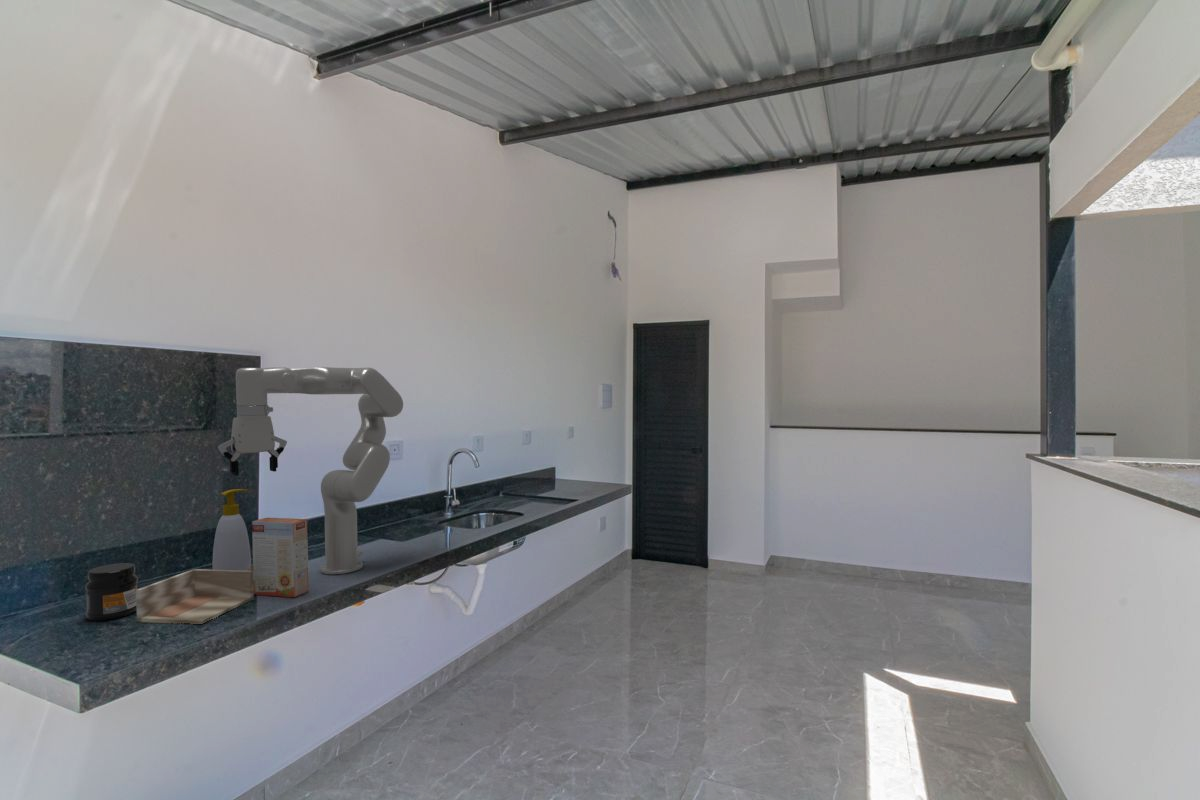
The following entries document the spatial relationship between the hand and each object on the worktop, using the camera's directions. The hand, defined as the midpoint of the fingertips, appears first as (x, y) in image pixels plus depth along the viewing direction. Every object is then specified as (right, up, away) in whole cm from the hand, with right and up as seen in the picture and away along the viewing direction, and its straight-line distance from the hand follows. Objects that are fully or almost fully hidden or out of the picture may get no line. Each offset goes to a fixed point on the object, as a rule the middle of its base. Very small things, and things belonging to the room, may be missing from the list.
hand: (254, 473), depth 173 cm
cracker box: (+7, -34, +1) cm, 35 cm away
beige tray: (-8, -34, -12) cm, 37 cm away
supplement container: (-29, -35, -14) cm, 47 cm away
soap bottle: (-18, -34, +21) cm, 44 cm away
